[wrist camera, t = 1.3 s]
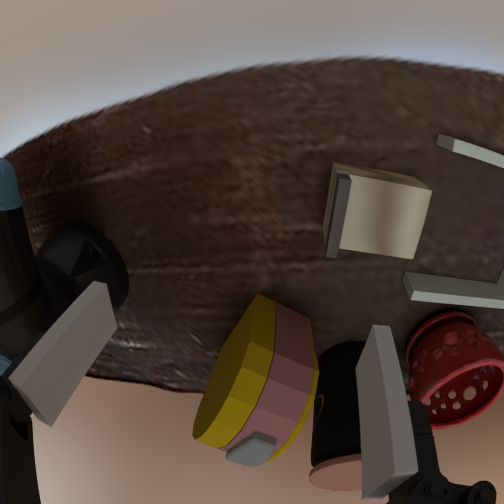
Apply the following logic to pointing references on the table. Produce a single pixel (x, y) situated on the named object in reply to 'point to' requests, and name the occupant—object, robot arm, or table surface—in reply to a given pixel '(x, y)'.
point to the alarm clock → (260, 385)
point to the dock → (454, 288)
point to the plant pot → (453, 368)
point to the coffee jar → (337, 422)
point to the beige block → (374, 211)
